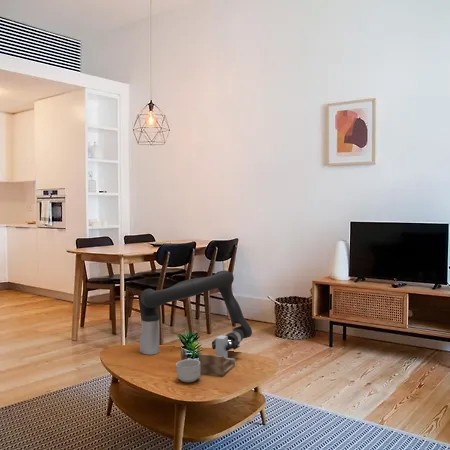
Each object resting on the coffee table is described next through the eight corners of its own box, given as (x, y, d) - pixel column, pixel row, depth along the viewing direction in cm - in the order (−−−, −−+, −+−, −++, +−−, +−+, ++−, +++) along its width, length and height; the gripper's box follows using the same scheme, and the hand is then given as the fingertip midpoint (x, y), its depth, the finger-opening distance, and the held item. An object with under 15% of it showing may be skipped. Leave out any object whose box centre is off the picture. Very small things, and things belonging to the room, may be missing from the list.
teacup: (197, 385, 211) (197, 367, 211) (173, 383, 213) (173, 365, 212) (204, 374, 225) (204, 357, 224) (181, 373, 227) (181, 355, 226)
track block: (198, 373, 226) (198, 354, 225) (212, 363, 241) (212, 345, 240) (222, 376, 221) (222, 357, 221) (235, 366, 236) (235, 347, 236)
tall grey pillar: (215, 362, 242) (215, 338, 242) (220, 358, 248) (220, 335, 247) (223, 363, 241) (223, 339, 240) (227, 359, 246) (227, 336, 246)
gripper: (219, 331, 260) (206, 339, 244) (244, 333, 254) (233, 342, 239) (219, 345, 260) (206, 354, 245) (244, 348, 255) (233, 357, 239)
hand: (219, 348), depth 242 cm, fingers open, 6 cm apart
